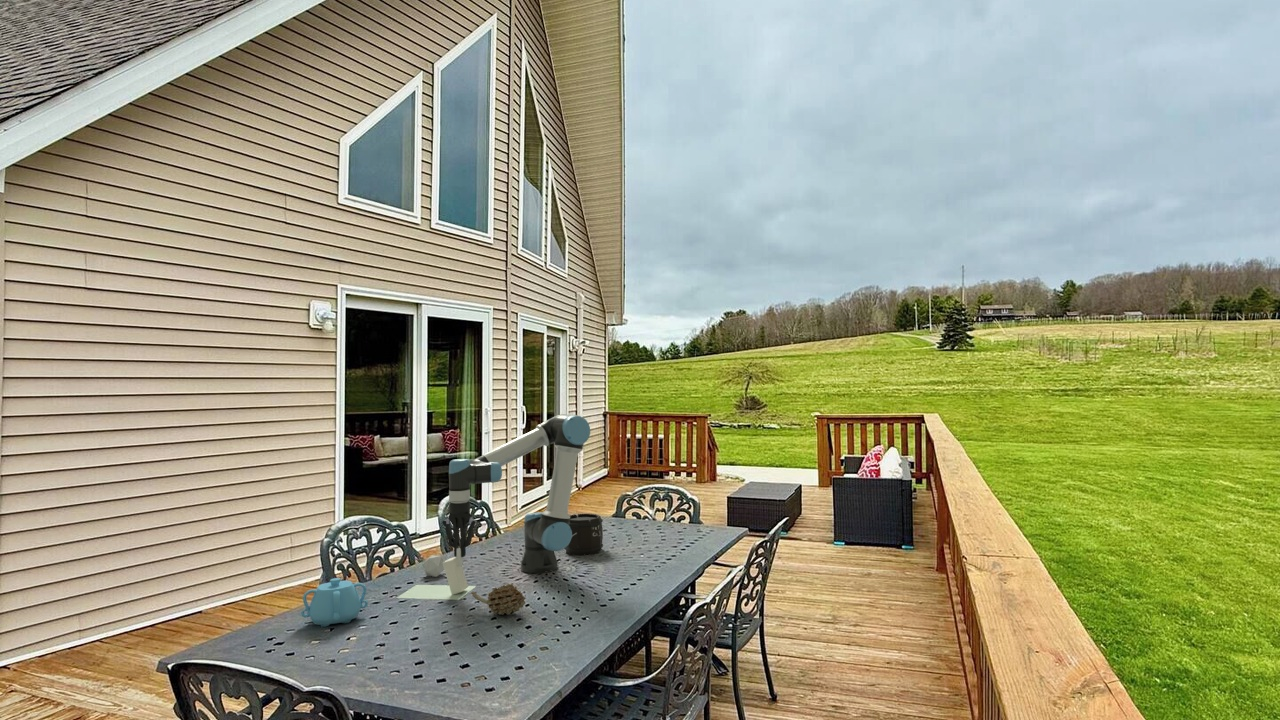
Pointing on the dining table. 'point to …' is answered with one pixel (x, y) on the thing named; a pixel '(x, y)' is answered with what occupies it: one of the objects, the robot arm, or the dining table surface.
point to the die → (433, 565)
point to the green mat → (434, 592)
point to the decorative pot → (334, 602)
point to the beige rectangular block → (455, 576)
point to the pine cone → (503, 599)
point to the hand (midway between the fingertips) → (459, 565)
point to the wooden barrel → (585, 534)
